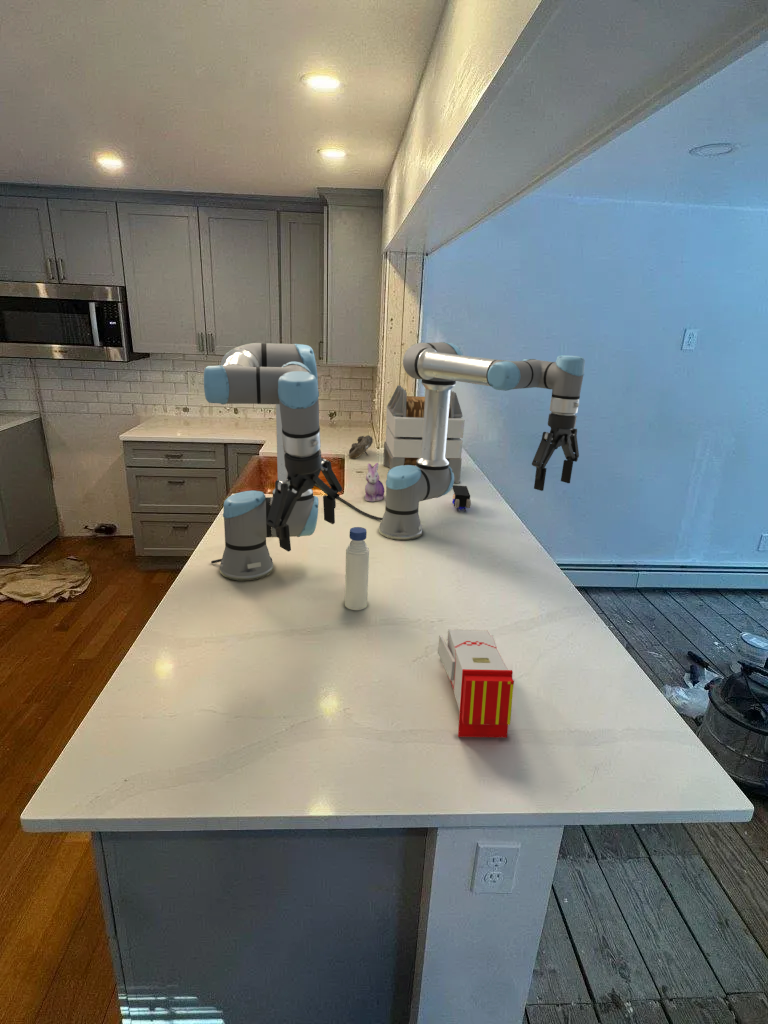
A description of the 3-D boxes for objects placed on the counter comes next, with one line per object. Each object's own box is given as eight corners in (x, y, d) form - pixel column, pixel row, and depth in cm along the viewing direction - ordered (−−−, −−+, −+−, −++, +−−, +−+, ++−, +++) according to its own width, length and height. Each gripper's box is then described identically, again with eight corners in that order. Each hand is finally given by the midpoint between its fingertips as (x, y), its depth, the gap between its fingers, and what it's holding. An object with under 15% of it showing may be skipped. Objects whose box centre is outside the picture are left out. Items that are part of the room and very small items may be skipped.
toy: (488, 613, 130) (523, 677, 101) (484, 667, 133) (517, 744, 104) (435, 612, 130) (455, 676, 101) (432, 666, 133) (451, 743, 103)
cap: (352, 541, 142) (352, 533, 141) (347, 535, 146) (347, 527, 145) (368, 540, 143) (368, 532, 143) (363, 533, 147) (363, 526, 147)
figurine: (369, 503, 229) (370, 467, 224) (358, 496, 237) (359, 461, 232) (389, 500, 233) (391, 465, 228) (378, 493, 242) (380, 459, 236)
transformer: (382, 463, 289) (386, 382, 275) (445, 464, 293) (451, 384, 279) (390, 482, 257) (394, 392, 243) (460, 483, 261) (468, 394, 247)
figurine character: (470, 516, 223) (465, 500, 237) (473, 499, 220) (467, 484, 233) (453, 516, 223) (449, 500, 236) (455, 498, 220) (451, 483, 233)
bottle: (348, 611, 148) (349, 536, 141) (342, 600, 153) (343, 528, 146) (369, 608, 150) (372, 534, 142) (363, 598, 155) (366, 526, 148)
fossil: (348, 441, 313) (370, 426, 308) (359, 455, 316) (380, 440, 311) (342, 455, 293) (365, 439, 288) (353, 469, 296) (376, 454, 291)
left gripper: (267, 479, 105) (277, 568, 117) (357, 434, 121) (357, 517, 133) (241, 466, 109) (253, 553, 121) (331, 424, 125) (334, 505, 137)
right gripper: (548, 419, 148) (537, 496, 155) (598, 411, 163) (586, 482, 171) (525, 414, 153) (515, 489, 160) (575, 407, 169) (564, 476, 176)
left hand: (308, 534), depth 127 cm, fingers open, 13 cm apart
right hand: (552, 485), depth 166 cm, fingers open, 13 cm apart
